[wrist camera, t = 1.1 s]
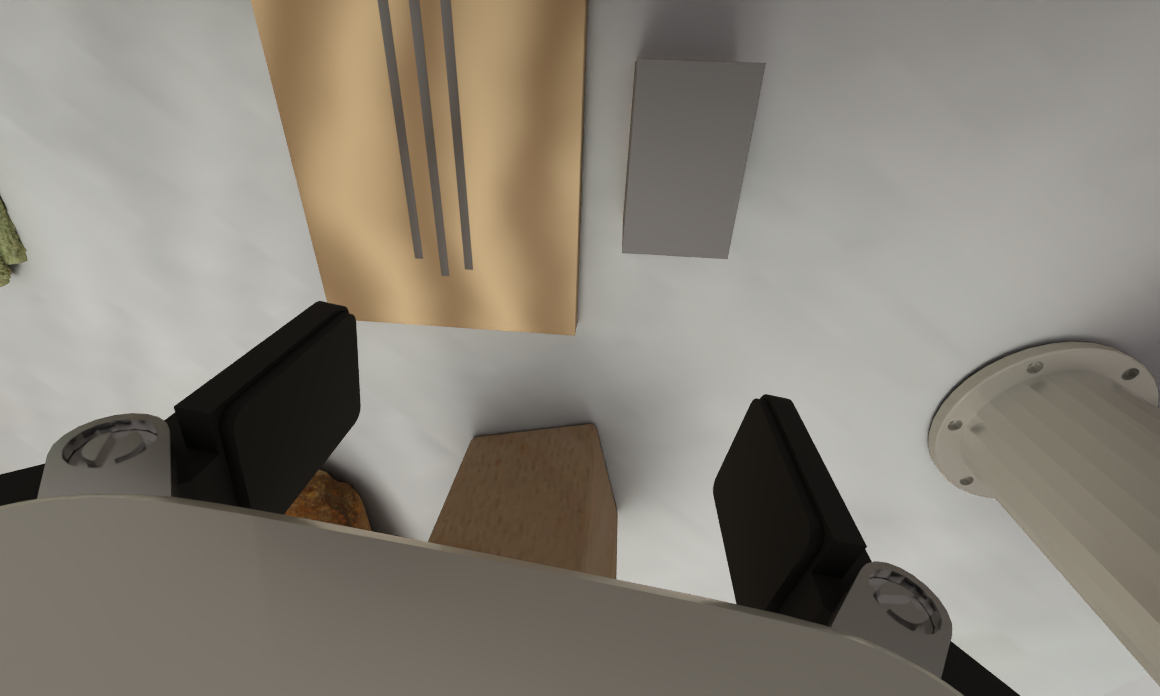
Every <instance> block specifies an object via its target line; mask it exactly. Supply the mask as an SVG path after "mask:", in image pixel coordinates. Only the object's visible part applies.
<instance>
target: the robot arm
mask: <svg viewBox="0 0 1160 696" xmlns="http://www.w3.org/2000/svg"><path fill="white" fill-rule="evenodd" d="M1158 406H1159V390H1158V387H1157V384H1156V381H1155V378H1154V377H1153V375H1152V374H1151V373H1150V371H1149V370H1148V369H1147V368H1146V366H1144V365H1143V364H1141V363H1140V362H1138V361H1137V360H1135V359H1134V358H1132V357H1130V356H1128V355H1127V354H1125V353H1123V352H1121V351H1119V350H1117V349H1115V348H1113V347H1109V346H1105V345H1101V344H1097V343H1089V342H1062V343H1051V344H1046V345H1042V346H1037V347H1033V348H1028V349H1026V350H1023V351H1020V352H1017V353H1014V354H1012V355H1009V356H1006V357H1004V358H1002V359H1000V360H998V361H996V362H994V363H992V364H990V365H988V366H986V367H984V368H983V369H981V370H980V371H978V372H977V373H975V374H974V375H972V376H971V377H969V378H968V379H967V380H966V381H964V382H963V383H962V384H961V385H960V386H959V387H958V388H956V389H955V390H954V391H953V392H952V393H951V395H950V396H949V397H948V398H947V399H946V400H945V402H944V403H943V404H942V405H941V407H940V409H939V410H938V412H937V414H936V416H935V417H934V419H933V422H932V425H931V428H930V431H929V442H928V447H929V451H930V455H931V458H932V460H933V461H934V463H935V465H936V466H937V468H938V469H939V470H940V472H941V473H942V474H943V475H944V476H945V477H946V479H947V480H948V481H949V482H951V483H952V484H953V485H955V486H956V487H958V488H959V489H962V490H964V491H966V492H969V493H971V494H974V495H979V496H983V497H987V498H995V499H996V500H997V501H998V502H999V503H1000V504H1001V506H1002V507H1003V508H1004V509H1005V510H1006V511H1007V512H1008V514H1009V515H1010V516H1011V517H1012V518H1013V519H1014V520H1015V522H1016V523H1017V524H1018V525H1019V526H1020V527H1021V528H1022V530H1023V531H1024V532H1025V533H1026V534H1027V535H1028V536H1029V538H1030V539H1031V540H1032V541H1033V542H1034V543H1035V544H1036V546H1037V547H1038V548H1039V549H1040V550H1041V551H1042V552H1043V554H1044V555H1045V556H1046V557H1047V558H1048V559H1049V560H1050V562H1051V563H1052V564H1053V565H1054V566H1055V567H1056V569H1057V570H1058V571H1059V572H1060V573H1061V574H1062V575H1063V577H1064V578H1065V579H1066V580H1067V581H1068V582H1069V583H1070V585H1071V586H1072V587H1073V588H1074V589H1075V590H1076V591H1077V593H1078V594H1079V595H1080V596H1081V597H1082V598H1083V599H1084V601H1085V602H1086V603H1087V604H1088V605H1089V606H1090V607H1091V609H1092V610H1093V611H1094V612H1095V613H1096V614H1097V615H1098V617H1099V618H1100V619H1101V620H1102V621H1103V622H1104V623H1105V625H1106V626H1107V627H1108V628H1109V629H1110V630H1111V631H1112V633H1113V634H1114V635H1115V636H1116V637H1117V638H1118V639H1119V641H1120V642H1121V643H1122V644H1123V645H1124V646H1125V647H1126V649H1127V650H1128V651H1129V652H1130V653H1131V654H1132V655H1133V657H1134V658H1135V659H1136V660H1137V661H1138V662H1139V663H1140V665H1141V666H1142V667H1143V668H1144V669H1145V670H1146V671H1147V673H1148V674H1149V675H1150V676H1151V677H1152V678H1153V679H1154V680H1155V682H1156V683H1157V684H1158V685H1159V686H1160V409H1159V408H1158ZM174 409H175V413H174V414H172V415H171V416H170V417H168V418H167V419H166V420H162V419H161V418H159V417H156V416H152V415H149V414H135V413H130V414H121V415H114V416H110V417H105V418H101V419H97V420H94V421H92V422H89V423H87V424H84V425H82V426H79V427H77V428H76V429H74V430H72V431H70V432H69V433H67V434H65V435H64V436H62V437H61V438H60V439H59V440H58V441H57V442H56V443H55V444H53V446H52V447H51V449H50V451H49V453H48V455H47V458H46V463H45V464H42V465H38V466H33V467H29V468H25V469H21V470H17V471H13V472H9V473H5V474H1V475H0V696H1020V695H1019V694H1017V693H1016V692H1015V691H1014V690H1012V689H1011V688H1010V687H1009V686H1007V685H1006V684H1005V683H1003V682H1002V681H1001V680H1000V679H998V678H997V677H996V676H994V675H993V674H992V673H991V672H989V671H988V670H987V669H986V668H984V667H983V666H982V665H980V664H979V663H978V662H977V661H975V660H974V659H973V658H972V657H970V656H969V655H968V654H966V653H965V652H964V651H963V650H961V649H960V648H959V647H958V646H956V645H955V644H954V643H952V642H951V637H952V623H951V620H950V617H949V615H948V612H947V610H946V609H945V607H944V606H943V604H942V603H941V601H940V600H939V598H938V597H937V596H936V595H935V594H934V593H933V592H932V591H931V590H930V589H929V588H928V587H927V586H926V585H925V584H924V583H922V582H921V581H920V580H919V579H917V578H916V577H915V576H913V575H912V574H910V573H908V572H907V571H905V570H903V569H901V568H899V567H897V566H894V565H891V564H889V563H884V562H877V561H875V562H871V560H870V558H869V556H868V554H867V552H866V550H865V548H866V547H867V546H866V544H865V542H864V540H863V538H862V536H861V534H860V532H859V530H858V528H857V526H856V524H855V522H854V521H853V519H852V517H851V515H850V513H849V511H848V509H847V507H846V505H845V503H844V501H843V499H842V497H841V495H840V493H839V491H838V489H837V488H836V486H835V484H834V482H833V480H832V478H831V476H830V474H829V472H828V470H827V468H826V466H825V464H824V462H823V460H822V458H821V456H820V454H819V453H818V451H817V449H816V447H815V445H814V443H813V441H812V439H811V437H810V435H809V433H808V431H807V429H806V427H805V425H804V423H803V421H802V420H801V418H800V416H799V414H798V412H797V410H796V408H795V406H794V404H793V402H792V401H791V400H790V399H786V398H781V397H777V396H772V395H767V394H765V395H763V396H762V397H761V398H760V399H754V400H753V401H752V403H751V404H750V406H749V409H748V411H747V413H746V415H745V417H744V419H743V421H742V423H741V426H740V428H739V430H738V432H737V434H736V436H735V438H734V440H733V443H732V445H731V447H730V449H729V451H728V453H727V455H726V457H725V460H724V462H723V464H722V466H721V468H720V470H719V472H718V474H717V477H716V479H715V481H714V487H713V495H714V500H715V505H716V509H717V514H718V519H719V524H720V528H721V533H722V538H723V542H724V547H725V552H726V557H727V561H728V566H729V571H730V575H731V580H732V585H733V590H734V594H735V599H736V604H732V603H728V602H723V601H719V600H714V599H710V598H705V597H700V596H695V595H691V594H686V593H681V592H676V591H671V590H666V589H661V588H656V587H651V586H646V585H641V584H636V583H631V582H627V581H622V580H617V579H612V578H607V577H602V576H597V575H592V574H587V573H582V572H577V571H572V570H567V569H562V568H557V567H552V566H547V565H542V564H537V563H532V562H527V561H522V560H517V559H512V558H507V557H501V556H496V555H491V554H486V553H481V552H476V551H471V550H466V549H461V548H456V547H450V546H445V545H440V544H435V543H430V542H425V541H420V540H414V539H409V538H404V537H399V536H394V535H388V534H383V533H378V532H373V531H367V530H362V529H357V528H352V527H347V526H341V525H336V524H331V523H326V522H320V521H315V520H310V519H305V518H299V517H294V516H288V515H284V514H285V513H286V511H287V510H288V509H289V507H290V506H291V505H292V504H293V502H294V501H295V500H296V498H297V497H298V496H299V495H300V493H301V492H302V491H303V489H304V488H305V487H306V486H307V484H308V483H309V482H310V480H311V479H312V478H313V477H314V475H315V474H316V473H317V471H318V470H319V469H320V468H321V466H322V465H323V464H324V462H325V461H326V460H327V459H328V457H329V456H330V455H331V453H332V452H333V451H334V449H335V448H336V447H337V446H338V444H339V443H340V442H341V440H342V439H343V438H344V437H345V435H346V434H347V433H348V431H349V430H350V429H351V428H352V426H353V425H354V424H355V422H356V421H357V419H358V416H359V413H360V388H359V369H358V350H357V331H356V318H355V316H354V315H353V314H349V311H348V308H347V307H345V306H342V305H337V304H332V303H327V302H322V301H318V302H316V303H314V304H313V305H312V306H310V307H309V308H308V309H306V310H305V311H303V312H302V313H301V314H299V315H298V316H297V317H295V318H294V319H293V320H291V321H290V322H288V323H287V324H286V325H284V326H283V327H282V328H280V329H279V330H278V331H276V332H275V333H273V334H272V335H271V336H269V337H268V338H267V339H265V340H264V341H263V342H261V343H260V344H258V345H257V346H256V347H254V348H253V349H252V350H250V351H249V352H248V353H246V354H245V355H243V356H242V357H241V358H239V359H238V360H237V361H235V362H234V363H233V364H231V365H230V366H229V367H227V368H226V369H224V370H223V371H222V372H220V373H219V374H218V375H216V376H215V377H214V378H212V379H211V380H209V381H208V382H207V383H205V384H204V385H203V386H201V387H200V388H199V389H197V390H196V391H194V392H193V393H192V394H190V395H189V396H188V397H186V398H185V399H184V400H182V401H181V402H179V403H178V404H177V405H175V406H174Z"/></svg>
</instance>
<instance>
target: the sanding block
mask: <svg viewBox="0 0 1160 696" xmlns="http://www.w3.org/2000/svg"><path fill="white" fill-rule="evenodd" d="M765 64H766V63H746V62H718V61H690V60H662V59H637V61H636V62H635V72H634V85H633V98H632V111H631V124H630V137H629V149H628V162H627V175H626V188H625V201H624V214H623V242H622V253H633V254H650V255H667V256H684V257H701V258H718V259H728V254H729V249H730V243H731V238H732V233H733V228H734V223H735V218H736V213H737V208H738V202H739V197H740V192H741V187H742V182H743V177H744V172H745V167H746V161H747V156H748V151H749V146H750V141H751V136H752V131H753V126H754V120H755V115H756V110H757V105H758V100H759V95H760V90H761V85H762V79H763V74H764V69H765Z"/></svg>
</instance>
